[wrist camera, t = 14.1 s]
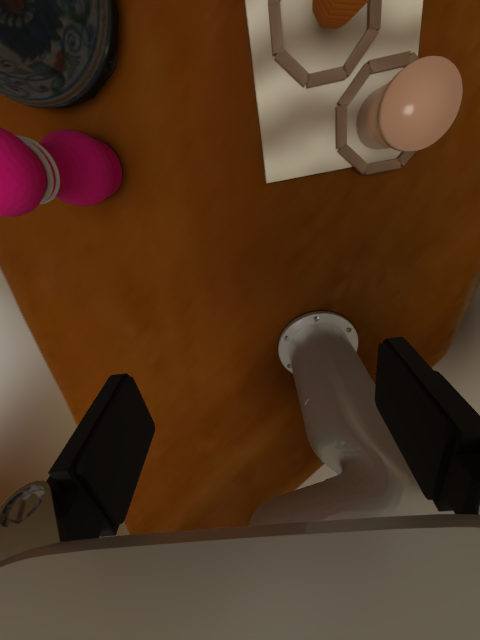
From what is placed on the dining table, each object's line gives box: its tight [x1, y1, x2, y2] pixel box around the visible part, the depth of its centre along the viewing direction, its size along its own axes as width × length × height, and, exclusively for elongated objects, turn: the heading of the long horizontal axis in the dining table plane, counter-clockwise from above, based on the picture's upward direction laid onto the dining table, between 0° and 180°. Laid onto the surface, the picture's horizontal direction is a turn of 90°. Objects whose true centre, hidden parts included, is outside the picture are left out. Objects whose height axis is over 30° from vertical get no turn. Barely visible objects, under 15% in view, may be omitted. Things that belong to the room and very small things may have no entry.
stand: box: [244, 0, 423, 183], centre depth 28 cm, size 23×18×2 cm
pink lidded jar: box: [356, 56, 463, 152], centre depth 27 cm, size 6×6×8 cm
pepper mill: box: [0, 128, 122, 217], centre depth 26 cm, size 7×7×20 cm
